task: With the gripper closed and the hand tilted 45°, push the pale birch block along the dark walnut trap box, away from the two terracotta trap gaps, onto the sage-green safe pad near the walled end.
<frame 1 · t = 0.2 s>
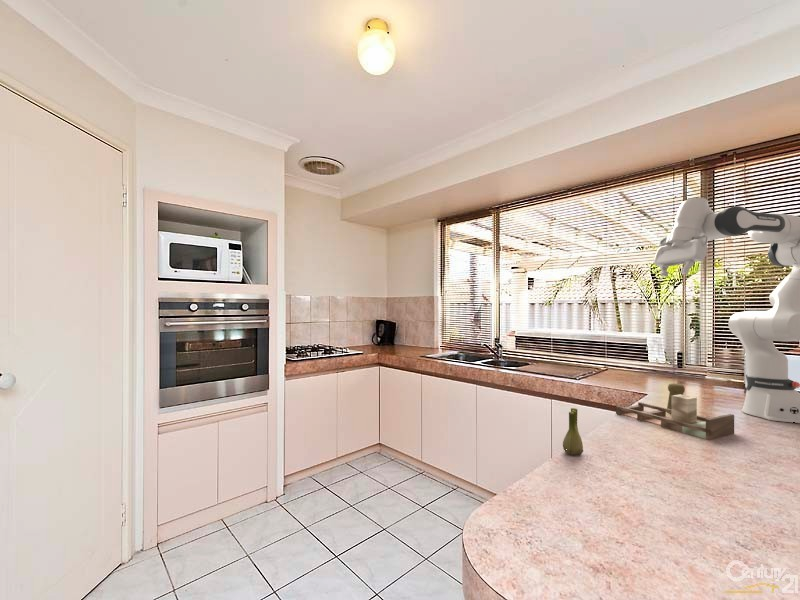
hand: (673, 274, 140), 52 cm above the counter, tool tilted 20°, fingers open, 8 cm apart
trap box: (670, 423, 131), on the counter
birch block: (683, 420, 127), point 2 cm above the counter, touching trap box
fennel bulb: (572, 454, 102), on the counter
cork: (676, 413, 144), on the counter
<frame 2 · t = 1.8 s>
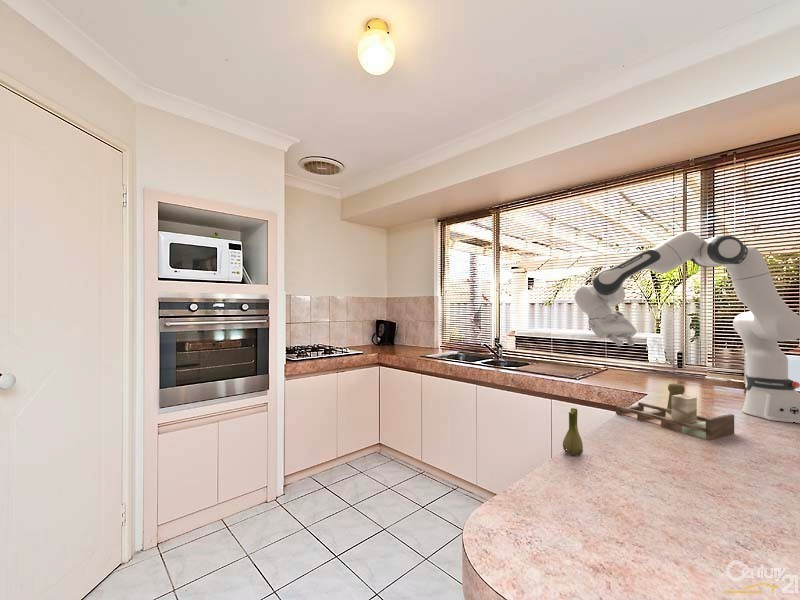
hand: (627, 344, 145), 25 cm above the counter, tool tilted 45°, fingers open, 5 cm apart
nothing on the counter moved.
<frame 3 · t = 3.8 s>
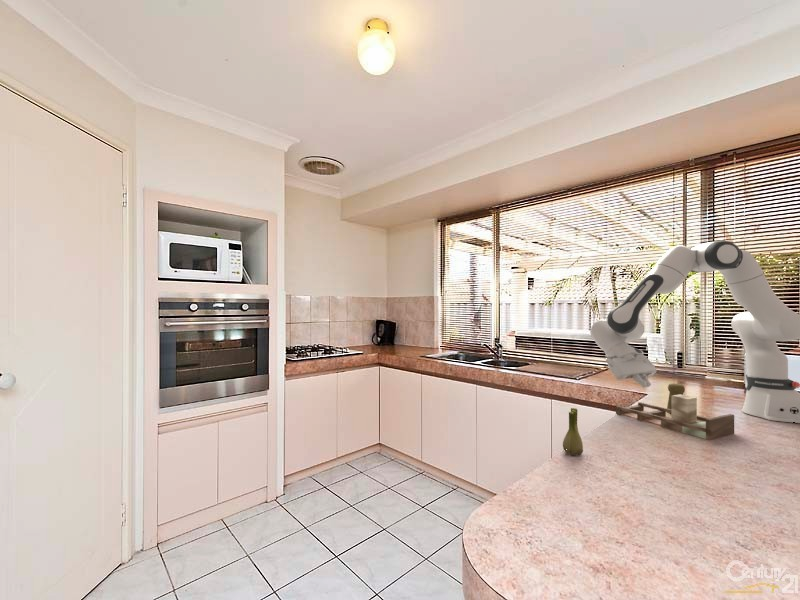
hand: (647, 386, 138), 11 cm above the counter, tool tilted 45°, fingers closed
nothing on the counter moved.
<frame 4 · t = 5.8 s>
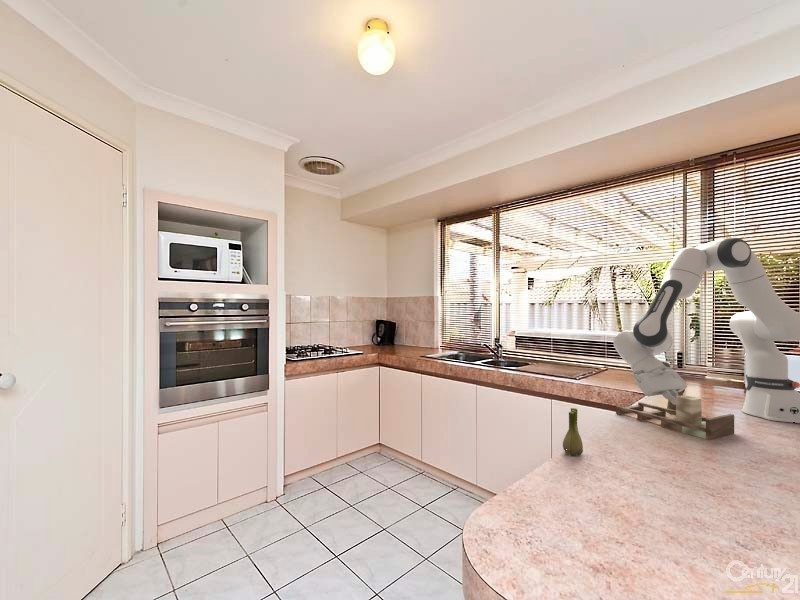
hand: (678, 403, 129), 7 cm above the counter, tool tilted 45°, fingers closed, pressing on birch block
birch block: (688, 421, 126), point 2 cm above the counter, touching gripper
everything else where it was.
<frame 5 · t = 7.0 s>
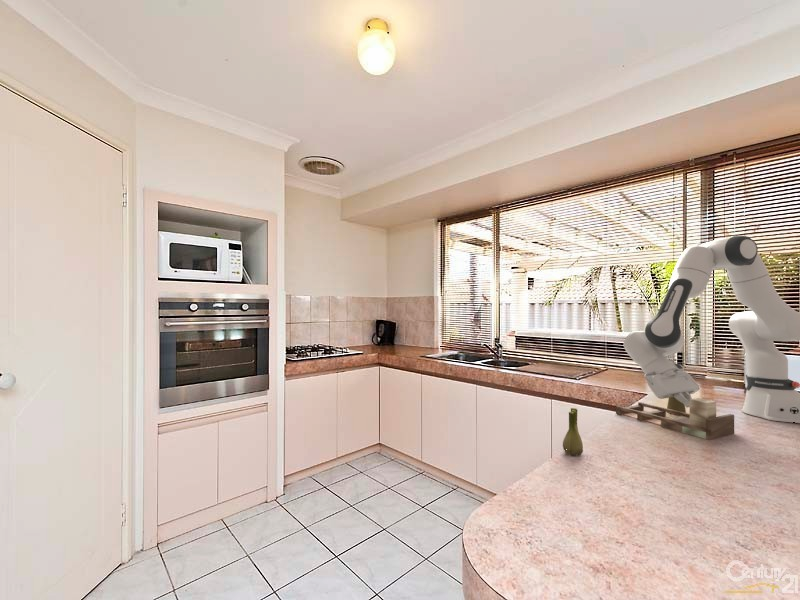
hand: (691, 406, 125), 7 cm above the counter, tool tilted 45°, fingers closed, pressing on birch block
birch block: (702, 425, 122), point 2 cm above the counter, touching gripper, trap box
everything else where it was.
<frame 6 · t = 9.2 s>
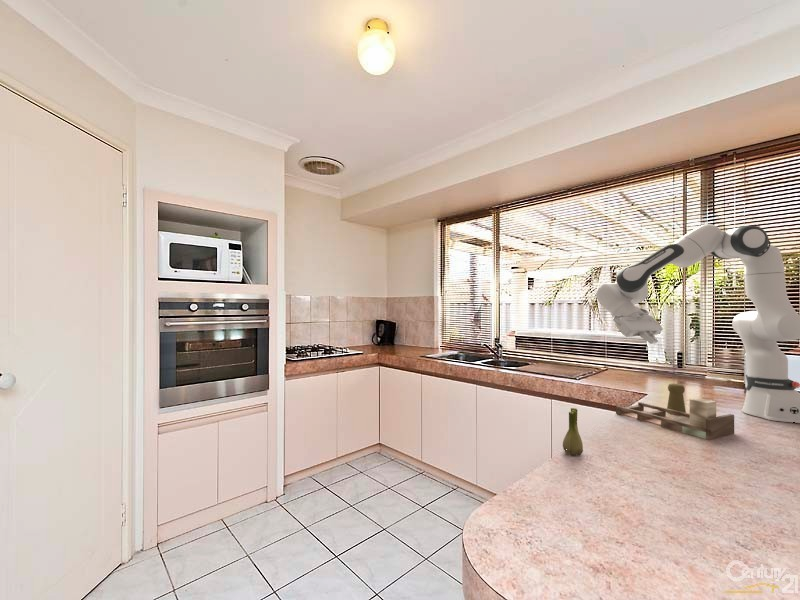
hand: (654, 342, 141), 27 cm above the counter, tool tilted 45°, fingers closed
birch block: (702, 425, 122), point 2 cm above the counter, touching trap box
everything else where it was.
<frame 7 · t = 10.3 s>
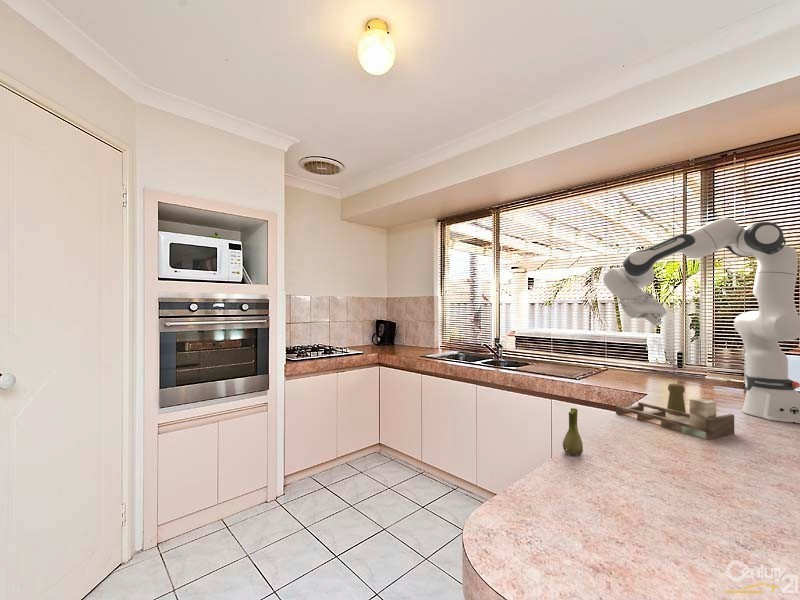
hand: (658, 324, 147), 33 cm above the counter, tool tilted 45°, fingers closed
nothing on the counter moved.
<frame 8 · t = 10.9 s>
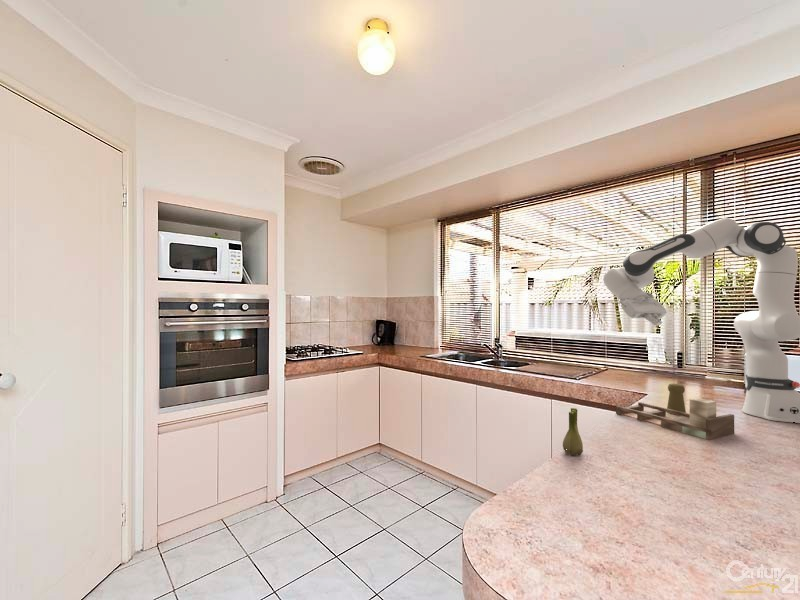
hand: (658, 324, 147), 33 cm above the counter, tool tilted 45°, fingers closed
nothing on the counter moved.
at the end: birch block inside the target area (1.7 cm from its centre), point 2.0 cm above the counter; birch block tilted 0° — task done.
